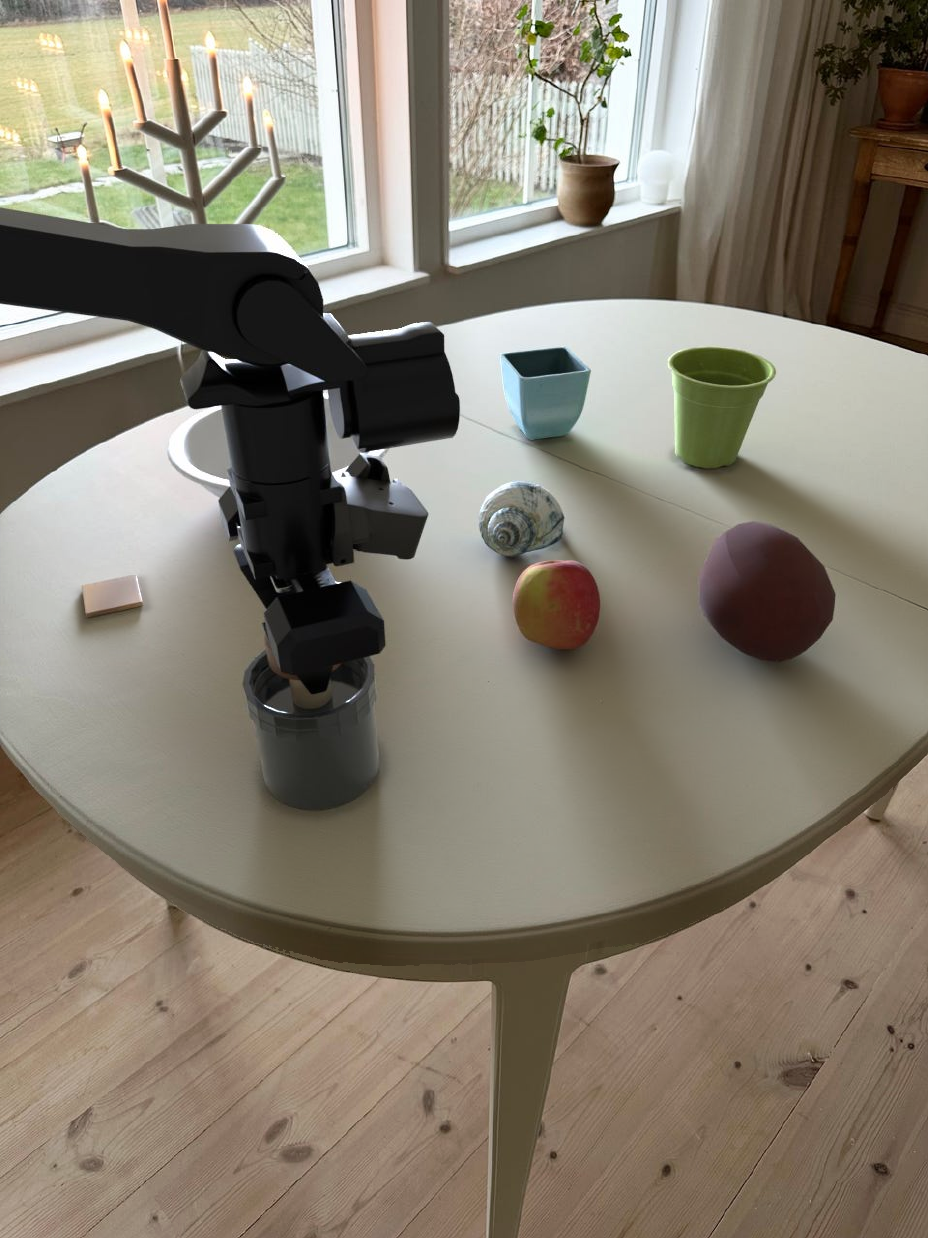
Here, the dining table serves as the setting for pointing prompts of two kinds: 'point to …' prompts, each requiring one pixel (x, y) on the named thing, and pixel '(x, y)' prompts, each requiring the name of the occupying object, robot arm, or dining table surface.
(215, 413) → the soup bowl
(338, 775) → the container
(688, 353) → the plant pot
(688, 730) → the dining table surface
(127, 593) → the plate
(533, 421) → the flower pot
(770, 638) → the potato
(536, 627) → the apple
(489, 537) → the seashell
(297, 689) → the mushroom
